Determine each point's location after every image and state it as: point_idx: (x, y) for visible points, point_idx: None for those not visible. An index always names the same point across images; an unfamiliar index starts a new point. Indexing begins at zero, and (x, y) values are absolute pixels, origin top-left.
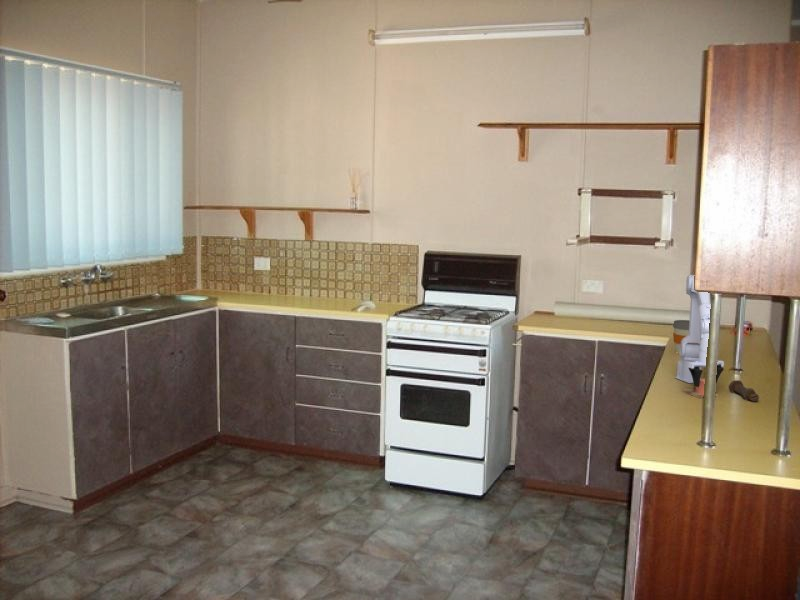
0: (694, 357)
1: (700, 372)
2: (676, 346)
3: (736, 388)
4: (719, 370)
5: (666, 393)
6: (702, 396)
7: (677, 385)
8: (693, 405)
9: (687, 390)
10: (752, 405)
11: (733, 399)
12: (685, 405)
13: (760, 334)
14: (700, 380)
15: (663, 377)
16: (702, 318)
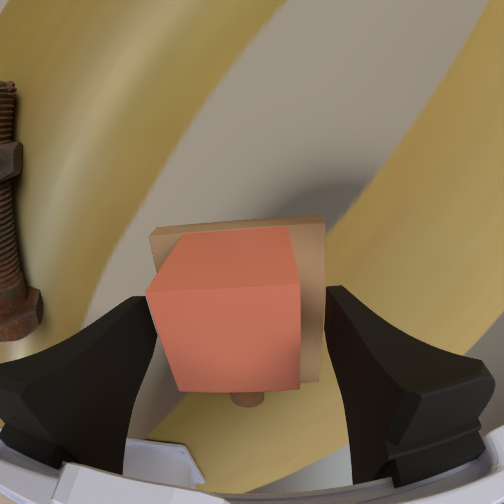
0: None
1: (420, 371)
2: None
3: (9, 276)
4: (32, 377)
5: None
6: (296, 220)
7: (256, 439)
8: (466, 75)
9: (321, 347)
10: (57, 19)
11: (79, 156)
12: (501, 97)
13: None
14: (297, 347)
15: (240, 487)
16: None
